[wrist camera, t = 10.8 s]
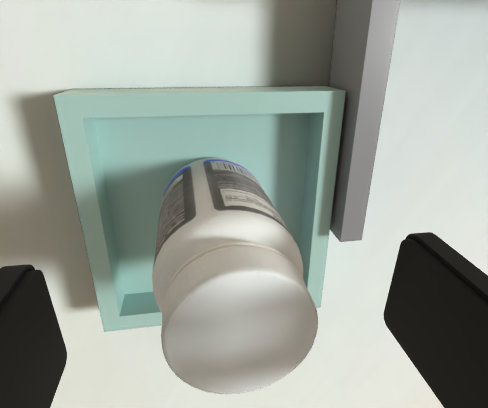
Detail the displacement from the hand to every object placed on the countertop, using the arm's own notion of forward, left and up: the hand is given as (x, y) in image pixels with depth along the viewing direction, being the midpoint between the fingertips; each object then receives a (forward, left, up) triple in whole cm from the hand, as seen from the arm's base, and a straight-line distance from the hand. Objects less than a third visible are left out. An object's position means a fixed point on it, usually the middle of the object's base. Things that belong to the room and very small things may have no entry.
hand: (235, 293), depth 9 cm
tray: (+1, 0, -8) cm, 8 cm away
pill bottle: (+1, 0, -8) cm, 8 cm away
